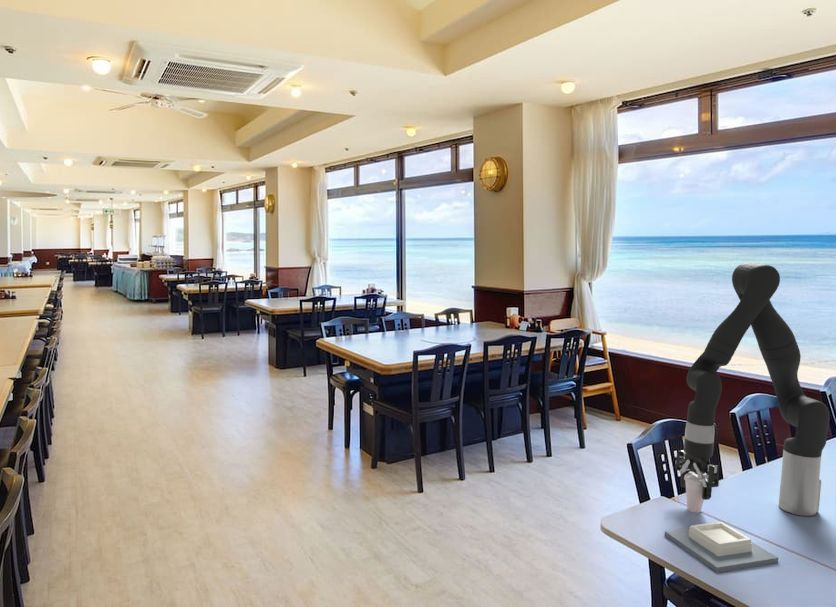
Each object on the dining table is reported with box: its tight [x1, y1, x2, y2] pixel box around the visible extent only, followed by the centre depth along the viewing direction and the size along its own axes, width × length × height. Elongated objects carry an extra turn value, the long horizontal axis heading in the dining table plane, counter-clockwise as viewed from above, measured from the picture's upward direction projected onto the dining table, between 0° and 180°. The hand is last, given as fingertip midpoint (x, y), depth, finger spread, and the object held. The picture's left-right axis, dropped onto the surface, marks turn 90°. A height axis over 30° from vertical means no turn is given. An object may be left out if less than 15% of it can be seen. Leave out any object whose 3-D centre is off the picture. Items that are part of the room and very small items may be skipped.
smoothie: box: [684, 472, 708, 513], centre depth 169 cm, size 6×6×14 cm
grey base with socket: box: [664, 521, 779, 573], centre depth 147 cm, size 18×18×4 cm
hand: (694, 492), depth 169 cm, fingers open, 8 cm apart
